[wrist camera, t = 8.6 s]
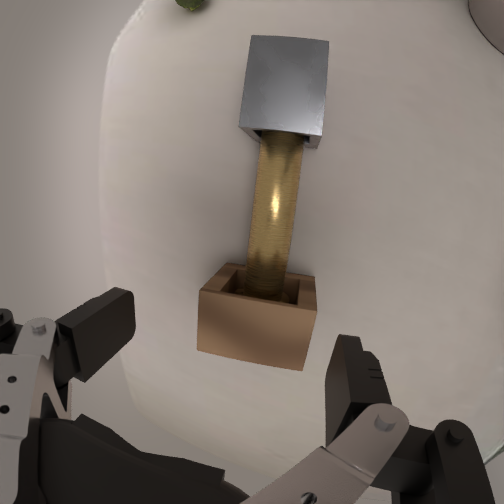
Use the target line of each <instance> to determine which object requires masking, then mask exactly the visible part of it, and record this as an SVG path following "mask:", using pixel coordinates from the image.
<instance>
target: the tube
mask: <svg viewBox="0 0 504 504" xmlns="http://www.w3.org/2000/svg"><path fill="white" fill-rule="evenodd" d="M304 136H305V135H300V134H292V133H283V132H274V131H264V130H262V136H261V144H260V153H259V161H258V169H257V178H256V186H255V194H254V203H253V211H252V220H251V228H250V237H249V245H248V254H247V263H246V271H245V280H244V287H240V288H238V289H237V290H236V292H235V294H236V295H242V296H247V297H253V298H258V299H264V300H270V301H276V302H281V303H287V304H289V297H288V295H287V294H285V293H284V292H283V288H284V281H285V275H286V269H287V263H288V256H289V250H290V243H291V236H292V229H293V222H294V215H295V208H296V201H297V193H298V186H299V178H300V170H301V162H302V153H303V145H304Z"/></svg>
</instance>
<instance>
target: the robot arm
mask: <svg viewBox="0 0 504 504" xmlns="http://www.w3.org/2000/svg"><path fill="white" fill-rule="evenodd" d="M469 9H470V13H471V15H472V17H473V19H474V21H475V23H476V24H477V26H478V27H479V29H480V30H481V32H482V33H483V34H484V35H485V37H486V38H487V39H488V40H489V41H490V42H491V43H492V44H493V45H494V46H495V47H496V48H497V49H498V50H499V51H501V52H502V53H503V54H504V0H470V1H469ZM135 329H136V322H135V307H134V295H133V293H132V292H131V291H128V290H124V289H121V288H117V287H114V288H112V289H110V290H109V291H107V292H105V293H104V294H102V295H100V296H99V297H95V298H92V299H90V300H89V301H87V302H85V303H84V304H83V305H80V306H79V307H77V309H74V310H72V311H71V312H69V313H67V314H66V315H64V316H62V317H61V318H59V319H57V320H56V321H53V320H51V319H49V318H35V319H32V320H30V321H28V322H27V323H25V324H24V325H19V324H15V323H14V319H13V315H12V313H11V311H10V310H8V309H0V504H354V503H355V502H356V501H357V500H358V499H359V497H360V496H361V495H362V494H363V493H364V492H365V490H366V489H367V488H368V487H369V486H372V487H376V488H380V489H385V490H389V491H391V496H392V504H495V501H494V497H493V493H492V489H491V486H490V482H489V479H488V476H487V472H486V469H485V466H484V463H483V460H482V457H481V454H480V452H479V449H478V446H477V443H476V441H475V438H474V436H473V433H472V431H471V430H470V429H469V428H468V426H466V425H465V424H463V423H462V422H460V421H457V420H444V421H442V422H440V423H439V424H438V425H437V426H436V428H435V429H434V431H432V430H427V429H423V428H418V427H414V426H411V425H409V420H408V418H407V416H406V414H405V413H404V412H403V411H402V410H400V409H399V408H397V407H395V406H393V405H392V402H391V399H390V395H389V392H388V389H387V385H386V382H385V379H384V376H383V372H382V371H381V370H382V369H381V366H380V363H379V360H378V359H377V358H376V357H375V356H374V355H373V354H372V353H371V352H370V351H363V348H362V344H361V340H360V337H357V336H349V335H342V334H339V335H338V337H337V340H336V343H335V346H334V350H333V353H332V356H331V359H330V363H329V366H328V369H327V373H326V378H325V409H326V448H324V447H323V446H320V447H318V448H317V449H315V450H314V451H313V452H311V453H310V454H309V455H308V456H307V457H305V458H304V459H303V460H302V461H300V462H299V463H298V464H296V465H295V466H294V467H293V468H291V469H290V470H289V471H287V472H286V473H285V474H283V475H282V476H280V477H279V478H278V479H276V480H275V481H274V482H272V483H271V484H269V485H268V486H266V487H265V488H263V489H262V490H260V491H259V492H258V493H256V494H254V495H253V496H251V497H250V496H249V495H247V494H246V493H245V492H243V491H242V490H241V489H239V488H237V487H236V486H234V485H232V484H230V483H228V482H226V481H224V474H225V470H223V469H219V468H215V467H211V466H207V465H204V464H201V463H197V462H194V461H191V460H187V459H184V458H177V457H169V456H163V455H157V454H151V453H145V452H141V451H139V450H138V449H136V448H135V447H133V446H132V445H131V444H129V443H128V442H127V441H125V440H124V439H123V438H122V437H120V436H119V435H118V434H116V433H115V432H114V431H113V430H112V429H110V428H108V427H106V426H104V425H102V424H100V423H98V422H96V421H95V420H93V419H91V418H89V417H87V416H85V415H84V414H81V415H80V416H79V417H78V418H77V419H76V420H75V421H73V420H71V402H72V383H71V380H70V379H71V378H73V377H75V378H77V379H79V380H80V381H82V382H84V383H85V382H86V381H87V380H88V379H89V378H90V377H92V375H94V374H95V373H96V372H97V371H98V370H99V369H100V368H101V367H102V366H103V365H104V364H105V363H106V362H107V361H108V360H109V359H111V358H112V357H113V356H114V355H115V354H116V353H117V352H118V351H119V350H120V349H121V348H122V347H123V346H125V345H126V344H127V343H128V342H129V341H130V340H131V339H132V337H133V336H134V333H135Z"/></svg>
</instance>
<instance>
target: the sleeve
mask: <svg viewBox="0 0 504 504" xmlns="http://www.w3.org/2000/svg"><path fill="white" fill-rule="evenodd" d="M328 53H329V41H324V40H316V39H307V38H297V37H284V36H263V35H252V36H251V42H250V49H249V55H248V62H247V69H246V76H245V83H244V90H243V98H242V105H241V112H240V120H239V127H240V128H241V129H242V130H243V131H244V132H246V133H247V134H248V135H249V136H250V137H252V138H253V139H254V140H255V141H257V142H261V136H262V130H264V131H274V132H283V133H292V134H300V135H305V136H304V145H303V147H308V148H315V149H317V148H318V145H319V142H320V139H321V136H322V128H323V118H324V107H325V96H326V83H327V69H328Z"/></svg>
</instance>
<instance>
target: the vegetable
mask: <svg viewBox="0 0 504 504" xmlns="http://www.w3.org/2000/svg"><path fill="white" fill-rule="evenodd" d="M175 1H176V2H177V4H178V5H180V6H183V7H184V8H189V9H190V10H191V11H193V10H194V9H196V8H197V7H199V6H200V5H201V4H202V3H203V1H204V0H175Z"/></svg>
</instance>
